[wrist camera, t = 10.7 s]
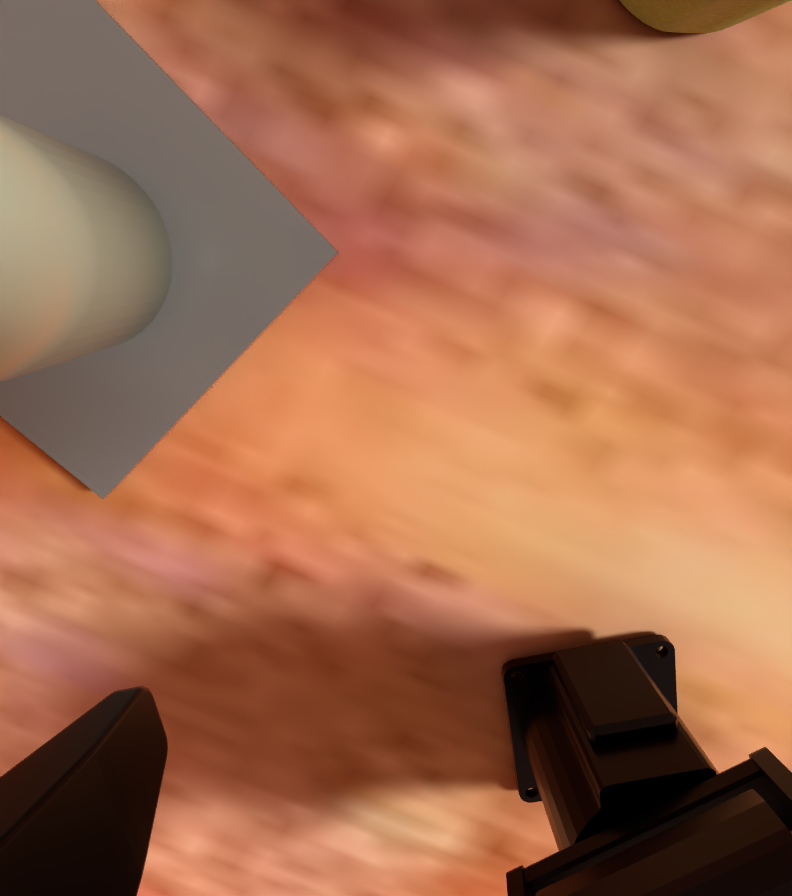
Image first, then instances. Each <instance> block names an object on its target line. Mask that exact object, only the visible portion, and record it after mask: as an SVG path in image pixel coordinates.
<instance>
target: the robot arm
mask: <svg viewBox="0 0 792 896" xmlns="http://www.w3.org/2000/svg"><path fill="white" fill-rule="evenodd" d="M661 646H663V648H662V649H661V650H660V651H658V652H655V650H656V649H657V648H659V647H661ZM514 672H521V673H520V674H519V675H517V676H511V674H512V673H514ZM501 673H502V681H503V688H504V695H505V703H506V710H507V717H508V724H509V732H510V739H511V746H512V753H513V761H514V768H515V775H516V782H517V788H518V791H519V795H520V797H521V799H522V800H523V801H525V802H538V801H542V802H543V805H544V808H545V811H546V814H547V817H548V820H549V823H550V826H551V829H552V832H553V835H554V838H555V841H556V844H557V847H558V850H559V851H558V852H556V853H554V854H552V855H550V856H548V857H546V858H544V859H542V860H540V861H538V862H536V863H534V864H532V865H530V866H528V867H526V868H524V867H523V866H522V865H521V866H519V867H517V868H515V869H513V870H511V871H509V872H507V873H506V878H507V892H508V896H792V772H790V771H789V770H788V769H787V768H786V767H785V766H784V765H783V764H782V763H781V762H780V761H779V760H778V759H777V758H776V757H775V756H774V755H773V754H772V753H771V752H770V751H769V750H768V749H767V748H766V747H764V748H762V749H759V750H757V751H755V752H753V753H751V754H749V757H750V759H748V760H746V761H744V762H742V763H740V764H738V765H735V766H733V767H731V768H729V769H727V770H725V771H723V772H721V773H718V771H717V770H716V768H715V767H714V766H713V764H712V763H711V761H710V760H709V758H708V757H707V756H706V754H705V753H704V751H703V750H702V748H701V747H700V746H699V744H698V743H697V741H696V740H695V738H694V737H693V736H692V734H691V733H690V731H689V730H688V729H687V727H686V726H685V724H684V723H683V721H682V720H681V719H680V717H679V716H678V714H677V693H676V669H675V649H674V646H673V645H672V643H671V642H670V641H669V640H668V639H667V638H666V637H665V636H663V635H652V636H646V637H640V638H635V639H629V640H623V641H615V642H609V643H603V644H597V645H592V646H586V647H580V648H574V649H569V650H563V651H558V652H554V653H548V654H542V655H537V656H531V657H525V658H519V659H514V660H510V661H508V662H507V663H505V664H504V666H503V667H502V672H501ZM167 750H168V746H167V737H166V733H165V730H164V727H163V724H162V721H161V718H160V715H159V712H158V710H157V707H156V704H155V701H154V698H153V695H152V693H151V692H150V690H149V689H148V688H146V687H144V686H141V687H135V688H129V689H123V690H118V691H115V692H113V693H111V694H110V695H109V696H107V697H106V698H105V699H103V700H102V701H101V702H99V703H98V704H97V705H95V706H94V707H93V708H91V709H90V710H89V711H87V712H86V713H85V714H83V715H82V716H81V717H80V718H78V719H77V720H76V721H74V722H73V723H72V724H70V725H69V726H68V727H66V728H65V729H64V730H62V731H61V732H60V733H58V734H57V735H56V736H54V737H53V738H52V739H50V740H49V741H48V742H46V743H45V744H44V745H42V746H41V747H40V748H38V749H37V750H36V751H34V752H33V753H32V754H30V755H29V756H28V757H27V758H25V759H24V760H23V761H21V762H20V763H19V764H17V765H16V766H15V767H13V768H12V769H11V770H9V771H8V772H7V773H5V774H4V775H3V776H1V777H0V896H137V892H138V889H139V885H140V882H141V878H142V874H143V870H144V866H145V861H146V857H147V852H148V847H149V842H150V837H151V832H152V828H153V823H154V818H155V813H156V808H157V803H158V798H159V793H160V788H161V783H162V778H163V773H164V768H165V763H166V758H167ZM529 788H533V789H530V790H527V789H529Z"/></svg>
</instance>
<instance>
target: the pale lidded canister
mask: <svg viewBox="0 0 792 896" xmlns="http://www.w3.org/2000/svg"><path fill="white" fill-rule="evenodd" d="M171 276H172V253H171V246H170V241H169V237H168V233H167V230H166V227H165V224H164V222H163V220H162V218H161V216H160V214H159V211H158V210H157V208H156V207H155V205H154V203H153V202H152V200H151V199H150V197H149V196H148V195H147V194H146V192H145V191H144V190H143V189H142V187H141V186H140V185H139V184H138V183H137V182H136V181H135V180H134V179H133V178H131V177H130V176H129V175H128V174H126V173H125V172H124V171H123V170H121V169H120V168H118V167H117V166H115V165H113V164H112V163H110V162H108V161H106V160H104V159H102V158H100V157H98V156H95V155H93V154H91V153H88V152H86V151H84V150H81V149H79V148H77V147H74V146H72V145H70V144H67V143H65V142H63V141H60V140H58V139H56V138H53V137H51V136H49V135H47V134H44V133H42V132H40V131H37V130H35V129H33V128H30V127H28V126H26V125H23V124H21V123H19V122H16V121H14V120H12V119H9V118H7V117H5V116H2V115H0V382H2V381H5V380H8V379H11V378H15V377H18V376H21V375H24V374H27V373H31V372H34V371H37V370H40V369H43V368H47V367H50V366H53V365H56V364H59V363H62V362H66V361H69V360H72V359H75V358H78V357H82V356H85V355H88V354H91V353H94V352H97V351H101V350H104V349H107V348H110V347H113V346H116V345H119V344H121V343H124V342H126V341H128V340H130V339H131V338H133V337H135V336H136V335H138V334H139V333H140V332H141V331H143V330H144V329H145V328H146V327H147V326H148V325H149V324H150V323H151V322H152V321H153V319H154V318H155V317H156V315H157V314H158V312H159V311H160V309H161V307H162V305H163V303H164V301H165V299H166V296H167V293H168V290H169V286H170V281H171Z"/></svg>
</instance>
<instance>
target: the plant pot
mask: <svg viewBox="0 0 792 896" xmlns="http://www.w3.org/2000/svg"><path fill="white" fill-rule="evenodd" d="M619 1H620V2H621V3H622V4H623V5H624V6H625V7H626V8H627V10H628V11H629V12H631V13H632V14H633V15H634V16H635V17H637V18H638V19H639V20H641V21H642V22H643V23H645V24H647V25H649V26H651V27H653V28H655V29H657V30H660V31H665V32H678V33H710V32H716V31H720V30H723V29H725V28H728V27H730V26H733V25H735V24H738V23H740V22H742V21H745V20H747V19H749V18H752V17H754V16H756V15H759V14H761V13H763V12H765V11H768V10H770V9H772V8H775V7H777V6H779V5H782V4H784V3H786V2H789V1H791V0H619Z"/></svg>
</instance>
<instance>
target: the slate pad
mask: <svg viewBox="0 0 792 896" xmlns="http://www.w3.org/2000/svg"><path fill="white" fill-rule="evenodd" d="M0 115H2V116H5V117H7V118H9V119H12V120H14V121H16V122H19V123H21V124H23V125H26V126H28V127H30V128H33V129H35V130H37V131H40V132H42V133H44V134H47V135H49V136H51V137H53V138H56V139H58V140H60V141H63V142H65V143H67V144H70V145H72V146H74V147H77V148H79V149H81V150H84V151H86V152H88V153H91V154H93V155H95V156H98V157H100V158H102V159H104V160H106V161H108V162H110V163H112V164H113V165H115V166H117V167H118V168H120V169H121V170H123V171H124V172H125V173H126V174H128V175H129V176H130V177H131V178H133V179H134V180H135V181H136V182H137V183H138V184H139V185H140V186H141V187H142V189H143V190H144V191H145V192H146V194H147V195H148V196H149V197H150V199H151V200H152V202H153V203H154V205H155V207H156V208H157V210H158V211H159V214H160V216H161V218H162V220H163V222H164V224H165V227H166V230H167V233H168V237H169V241H170V246H171V253H172V276H171V281H170V286H169V290H168V293H167V296H166V299H165V301H164V303H163V305H162V307H161V309H160V311H159V312H158V314H157V315H156V317H155V318H154V319H153V321H152V322H151V323H150V324H149V325H148V326H147V327H146V328H145V329H144V330H143V331H141V332H140V333H139V334H138V335H136V336H135V337H133V338H131V339H130V340H128V341H126V342H124V343H121V344H119V345H116V346H113V347H110V348H107V349H104V350H101V351H97V352H94V353H91V354H88V355H85V356H82V357H78V358H75V359H72V360H69V361H66V362H62V363H59V364H56V365H53V366H50V367H47V368H43V369H40V370H37V371H34V372H31V373H27V374H24V375H21V376H18V377H15V378H11V379H8V380H5V381H2V382H0V416H1V417H2V418H3V419H4V420H5V421H7V422H8V423H9V424H10V425H12V426H13V427H14V428H15V429H17V430H18V431H19V432H20V433H22V434H23V435H24V436H25V437H26V438H28V439H29V440H30V441H31V442H33V443H34V444H35V445H36V446H38V447H39V448H40V449H41V450H43V451H44V452H45V453H46V454H48V455H49V456H50V457H51V458H52V459H54V460H55V461H56V462H57V463H59V464H60V465H61V466H62V467H64V468H65V469H66V470H67V471H69V472H70V473H71V474H72V475H73V476H75V477H76V478H77V479H78V480H80V481H81V482H82V483H83V484H85V485H86V486H87V487H88V488H90V489H91V490H92V491H93V492H95V493H96V494H97V495H98V496H99V497H101V498H102V499H104V498H105V497H106V496H107V495H109V494H110V493H111V492H112V491H113V490H114V489H115V488H116V487H117V486H118V485H119V484H120V483H121V482H122V481H123V480H124V478H125V477H126V476H127V475H128V474H129V473H130V472H131V471H132V470H133V469H134V468H135V467H136V466H137V465H138V464H139V463H140V462H141V461H142V459H143V458H144V457H145V456H146V455H147V454H148V453H149V452H150V451H151V450H152V449H153V448H154V447H155V446H156V445H157V444H158V443H159V442H160V441H161V439H162V438H163V437H164V436H165V435H166V434H167V433H168V432H169V431H170V430H171V429H172V428H173V427H174V426H175V425H176V424H177V423H178V422H179V421H180V419H181V418H182V417H183V416H184V415H185V414H186V413H187V412H188V411H189V410H190V409H191V408H192V407H193V406H194V405H195V404H196V403H197V402H198V400H199V399H200V398H201V397H202V396H203V395H204V394H205V393H206V392H207V391H208V390H209V389H210V388H211V387H212V386H213V385H214V384H215V383H216V382H217V380H218V379H219V378H220V377H221V376H222V375H223V374H224V373H225V372H226V371H227V370H228V369H229V368H230V367H231V366H232V365H233V364H234V363H235V361H236V360H237V359H238V358H239V357H240V356H241V355H242V354H243V353H244V352H245V351H246V350H247V349H248V348H249V347H250V346H251V345H252V344H253V343H254V341H255V340H256V339H257V338H258V337H259V336H260V335H261V334H262V333H263V332H264V331H265V330H266V329H267V328H268V327H269V326H270V325H271V324H272V323H273V321H274V320H275V319H276V318H277V317H278V316H279V315H280V314H281V313H282V312H283V311H284V310H285V309H286V308H287V307H288V306H289V305H290V304H291V302H292V301H293V300H294V299H295V298H296V297H297V296H298V295H299V294H300V293H301V292H302V291H303V290H304V289H305V288H306V287H307V286H308V285H309V284H310V282H311V281H312V280H313V279H314V278H315V277H316V276H317V275H318V274H319V273H320V272H321V271H322V270H323V269H324V268H325V267H326V266H327V265H328V263H329V262H330V261H331V260H332V259H333V258H334V257H335V256H336V255H337V254H338V253H339V252H338V251H337V250H336V249H335V248H334V247H333V246H332V245H331V244H330V243H329V242H328V241H327V240H326V239H325V238H324V237H323V236H322V235H321V234H320V233H319V232H318V231H317V229H316V228H315V227H314V226H313V225H312V224H311V223H310V222H309V221H308V220H307V219H306V218H305V217H304V216H303V215H302V214H301V213H300V212H299V211H298V210H297V209H296V208H295V207H294V206H293V205H292V204H291V202H290V201H289V200H288V199H287V198H286V197H285V196H284V195H283V194H282V193H281V192H280V191H279V190H278V189H277V188H276V187H275V186H274V185H273V184H272V183H271V182H270V181H269V180H268V179H267V178H266V177H265V175H264V174H263V173H262V172H261V171H260V170H259V169H258V168H257V167H256V166H255V165H254V164H253V163H252V162H251V161H250V160H249V159H248V158H247V157H246V156H245V155H244V154H243V153H242V152H241V151H240V150H239V148H238V147H237V146H236V145H235V144H234V143H233V142H232V141H231V140H230V139H229V138H228V137H227V136H226V135H225V134H224V133H223V132H222V131H221V130H220V129H219V128H218V127H217V126H216V125H215V124H214V122H213V121H212V120H211V119H210V118H209V117H208V116H207V115H206V114H205V113H204V112H203V111H202V110H201V109H200V108H199V107H198V106H197V105H196V104H195V103H194V102H193V101H192V100H191V99H190V98H189V97H188V95H187V94H186V93H185V92H184V91H183V90H182V89H181V88H180V87H179V86H178V85H177V84H176V83H175V82H174V81H173V80H172V79H171V78H170V77H169V76H168V75H167V74H166V73H165V72H164V71H163V70H162V68H161V67H160V66H159V65H158V64H157V63H156V62H155V61H154V60H153V59H152V58H151V57H150V56H149V55H148V54H147V53H146V52H145V51H144V50H143V49H142V48H141V47H140V46H139V45H138V44H137V43H136V41H135V40H134V39H133V38H132V37H131V36H130V35H129V34H128V33H127V32H126V31H125V30H124V29H123V28H122V27H121V26H120V25H119V24H118V23H117V22H116V21H115V20H114V19H113V18H112V17H111V16H110V14H109V13H108V12H107V11H106V10H105V9H104V8H103V7H102V6H101V5H100V4H99V3H98V2H97V1H96V0H0Z"/></svg>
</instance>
